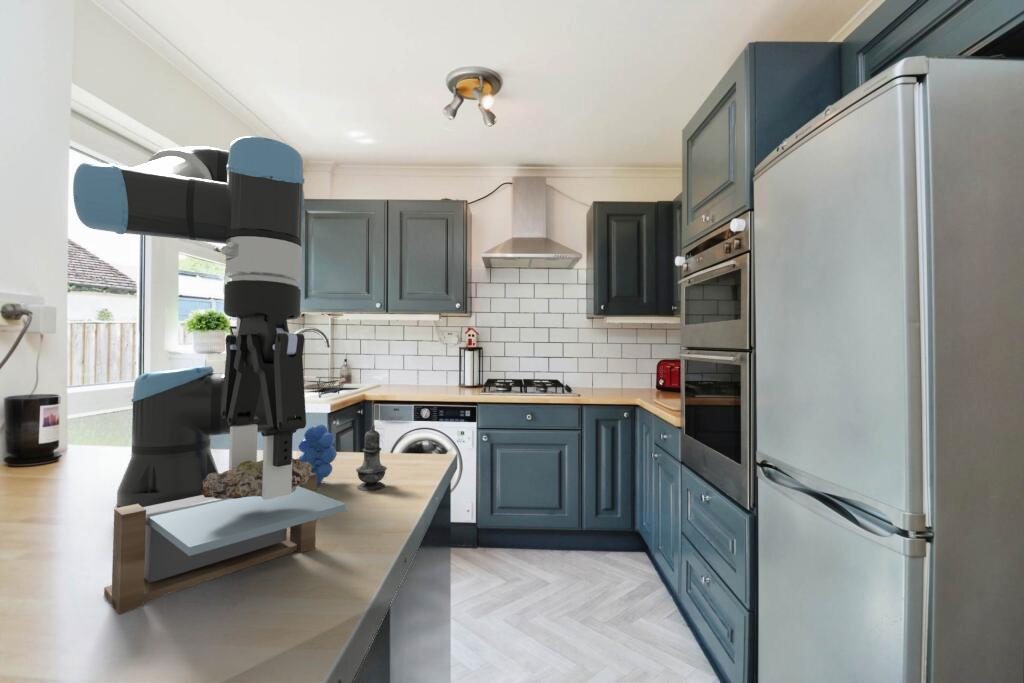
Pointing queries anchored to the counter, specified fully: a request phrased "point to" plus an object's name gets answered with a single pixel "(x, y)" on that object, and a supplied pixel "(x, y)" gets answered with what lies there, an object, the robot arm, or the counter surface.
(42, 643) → the counter surface
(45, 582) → the counter surface
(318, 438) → the grapes
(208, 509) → the trapdoor
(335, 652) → the counter surface
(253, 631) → the counter surface
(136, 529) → the frame
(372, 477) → the salt shaker
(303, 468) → the mineral rock
